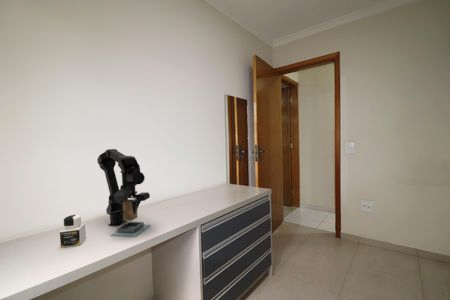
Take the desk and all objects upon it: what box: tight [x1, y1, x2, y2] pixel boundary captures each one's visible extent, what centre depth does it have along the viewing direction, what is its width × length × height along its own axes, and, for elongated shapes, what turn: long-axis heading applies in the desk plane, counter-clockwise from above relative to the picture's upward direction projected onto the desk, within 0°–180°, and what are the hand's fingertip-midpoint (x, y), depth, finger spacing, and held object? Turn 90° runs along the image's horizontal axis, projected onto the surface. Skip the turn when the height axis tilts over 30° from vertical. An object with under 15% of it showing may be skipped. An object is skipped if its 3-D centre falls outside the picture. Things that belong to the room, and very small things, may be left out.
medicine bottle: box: [59, 214, 87, 249], centre depth 91 cm, size 7×7×12 cm
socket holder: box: [109, 221, 151, 238], centre depth 102 cm, size 13×13×3 cm
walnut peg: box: [123, 198, 138, 222], centre depth 102 cm, size 4×4×9 cm
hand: (130, 213), depth 102 cm, fingers closed on walnut peg, 4 cm apart
